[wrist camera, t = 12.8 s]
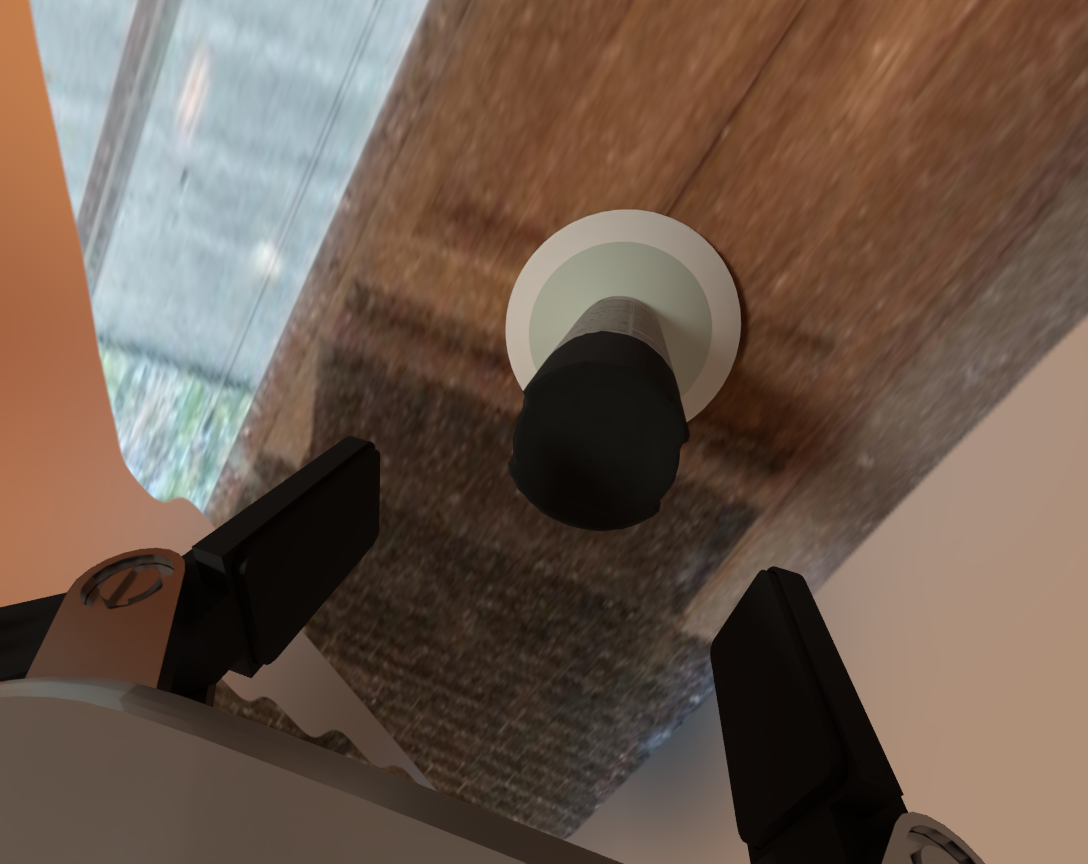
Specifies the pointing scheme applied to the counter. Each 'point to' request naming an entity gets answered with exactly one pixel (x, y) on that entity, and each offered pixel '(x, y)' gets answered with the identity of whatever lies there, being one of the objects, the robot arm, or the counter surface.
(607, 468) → the spray can
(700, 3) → the counter surface
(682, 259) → the dish
